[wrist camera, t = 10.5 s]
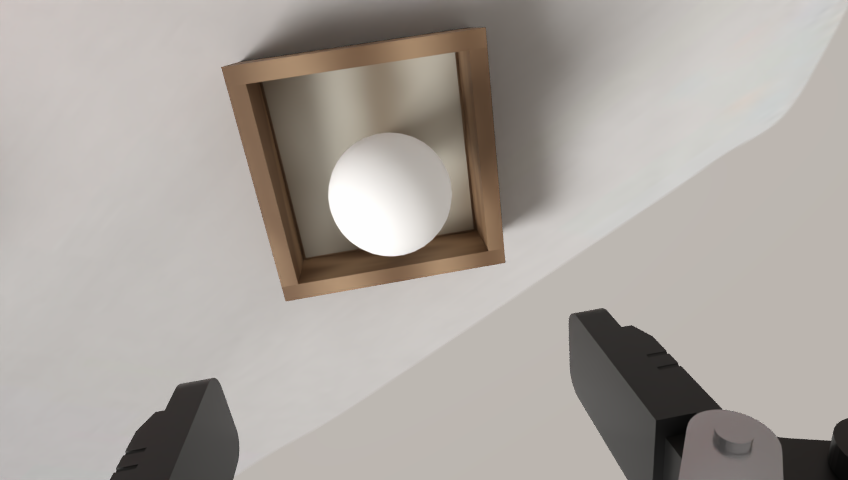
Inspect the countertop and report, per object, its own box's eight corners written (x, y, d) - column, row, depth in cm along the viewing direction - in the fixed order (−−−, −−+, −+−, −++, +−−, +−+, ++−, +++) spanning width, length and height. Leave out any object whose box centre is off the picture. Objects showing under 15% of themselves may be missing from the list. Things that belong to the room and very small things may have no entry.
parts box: (294, 270, 37) (285, 301, 32) (239, 61, 31) (221, 67, 27) (488, 236, 37) (505, 262, 33) (469, 27, 32) (485, 27, 28)
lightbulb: (395, 89, 32) (412, 118, 22) (448, 169, 34) (487, 229, 24) (315, 146, 32) (295, 200, 22) (372, 221, 35) (378, 300, 25)
